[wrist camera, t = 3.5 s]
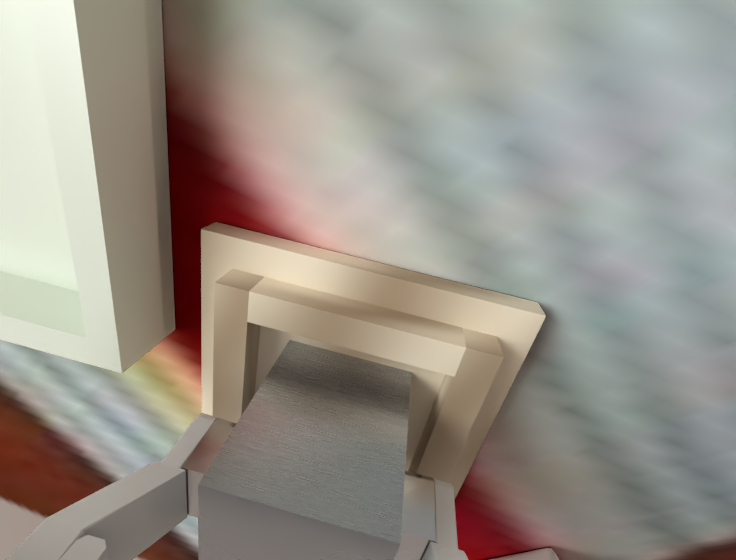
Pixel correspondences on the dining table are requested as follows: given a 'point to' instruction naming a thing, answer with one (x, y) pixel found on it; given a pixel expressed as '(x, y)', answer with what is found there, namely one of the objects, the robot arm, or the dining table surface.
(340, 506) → the gray block
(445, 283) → the socket holder
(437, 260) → the dining table surface
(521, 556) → the small box
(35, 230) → the tray
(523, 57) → the dining table surface
